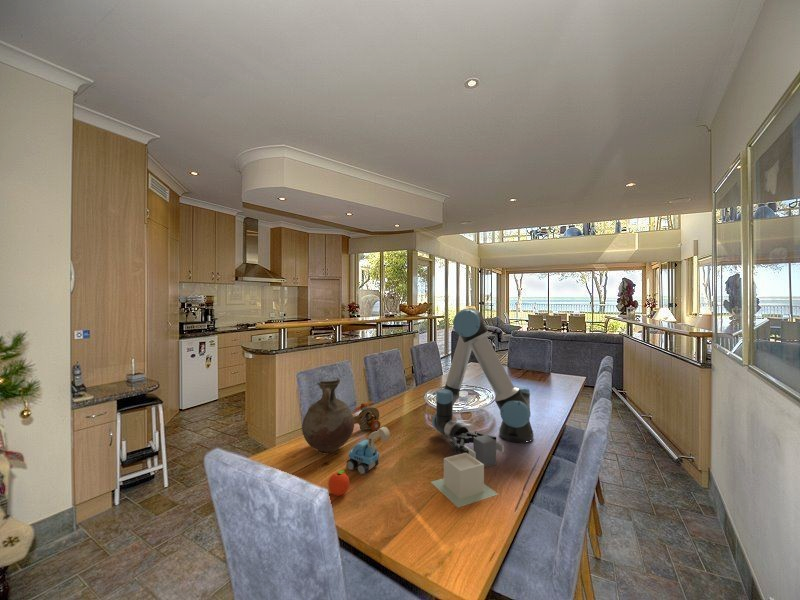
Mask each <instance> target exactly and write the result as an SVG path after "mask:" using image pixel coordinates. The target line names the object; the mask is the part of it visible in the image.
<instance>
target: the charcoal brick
mask: <svg viewBox="0 0 800 600" xmlns="http://www.w3.org/2000/svg"><path fill="white" fill-rule="evenodd" d="M487 435H488V434H487ZM487 435H483V436H479V437H474V443H473V449H472V450H473V451H475V452H476V459H477V460H478V461H480V462H481V463H483V464H484V468H487V467H490V466H494V467H496V466H497V449H496V441H497V439H496V440H494V439H492V438H490V437H488V436H487Z"/></svg>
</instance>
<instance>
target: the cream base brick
mask: <svg viewBox="0 0 800 600" xmlns="http://www.w3.org/2000/svg"><path fill="white" fill-rule="evenodd" d="M443 478H444V485H445V486H446V487H447V488H448V489H449V490H451V491H452V492H453V493H454V494H455V495H456V496H457V497H458V498H460V499H462V498H465V497H468V496H472V495H475V494H478V493H481V492H484V484H485V467H484V464H483V463H481V462H480V461H478V460H477V459H475V458H474V457H472V456H471V455H469V454H468V453H463V454H460V453H458V454H454V455H451V456H446V457H443Z"/></svg>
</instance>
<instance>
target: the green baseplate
mask: <svg viewBox="0 0 800 600" xmlns="http://www.w3.org/2000/svg"><path fill="white" fill-rule="evenodd" d="M430 483H431V484H432V485H433V486H434V487H435V488H436V489H437V490H438V491H440V493H442V494H443V495H444V496H445V497H446V498H447V499H448V500H449V501H450V502H451V503H452V504H453V505H454V506H455V507H456V508H461V507H463V506H468V505H470V504H471V505H472V504H473V503H476V502H480V501H482V500H485V499H489V498H492V497H494V496H498V495H499V493H497V491H495V490H494V489H492V488H490V486H488V485H487V484H485V483H484V492H481V493H478V494H475V495H472V496H468V497H465V498H462V499H460V498H458V497H457V496H456V495H455V494H454V493H453V492H452V491H451V490H449V489H448V488H447V487H446V486H445V485H444V477H443V478H440V479H435V480H433V481H430Z"/></svg>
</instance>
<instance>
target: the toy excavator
mask: <svg viewBox="0 0 800 600" xmlns="http://www.w3.org/2000/svg"><path fill="white" fill-rule="evenodd" d="M378 438H380V439H381V443H385V442H387V441H389V440H390V438H391V432H390V430H389V429H388V427H386V426H382V427H380V428H379V429H378V430H377V431H372V432H371V433H369V435H368V439H363V440H361V441H359V442H358V443H355V445H353V448H352V449H351V450H349V452H348V458H349V459H348V460H346V469H347V470H348V471H354V470H356V469H357V472H358V474H360V476H364V475H366V474H367V473H369V470H372V468H374V469H375V468H376V467H377V466H378V465H379V459H380V452H378V449H377V446H376V445H375V444H376V442H375V441H376V439H378Z"/></svg>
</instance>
